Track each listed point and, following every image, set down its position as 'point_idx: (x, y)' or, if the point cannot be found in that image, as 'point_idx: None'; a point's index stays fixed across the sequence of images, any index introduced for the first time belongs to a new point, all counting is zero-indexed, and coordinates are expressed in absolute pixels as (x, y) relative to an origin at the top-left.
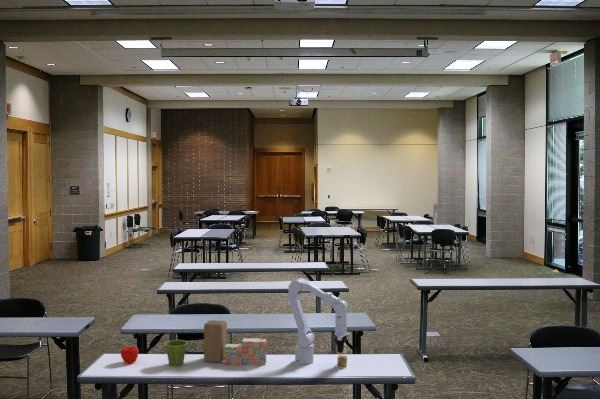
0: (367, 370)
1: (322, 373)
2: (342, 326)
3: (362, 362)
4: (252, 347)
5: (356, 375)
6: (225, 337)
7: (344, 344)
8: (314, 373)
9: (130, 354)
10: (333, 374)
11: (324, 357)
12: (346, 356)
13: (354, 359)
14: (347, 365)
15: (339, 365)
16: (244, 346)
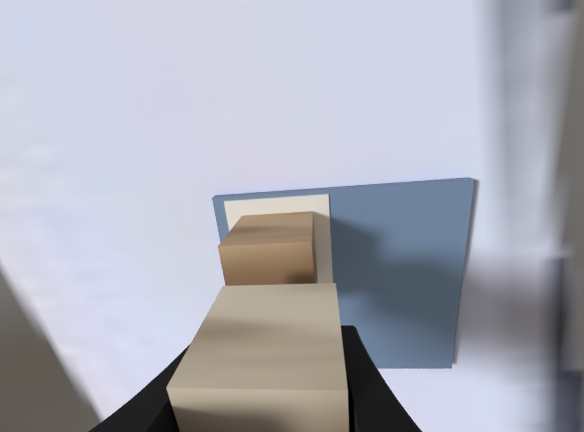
0: (320, 7)
1: (456, 342)
2: None
3: (109, 100)
4: None
5: (488, 93)
6: None
7: (296, 400)
8: (460, 382)
9: None
10: (473, 276)
11: (125, 366)
12: (245, 249)
13: (67, 180)
14: (266, 208)
15: (316, 266)
16: None
